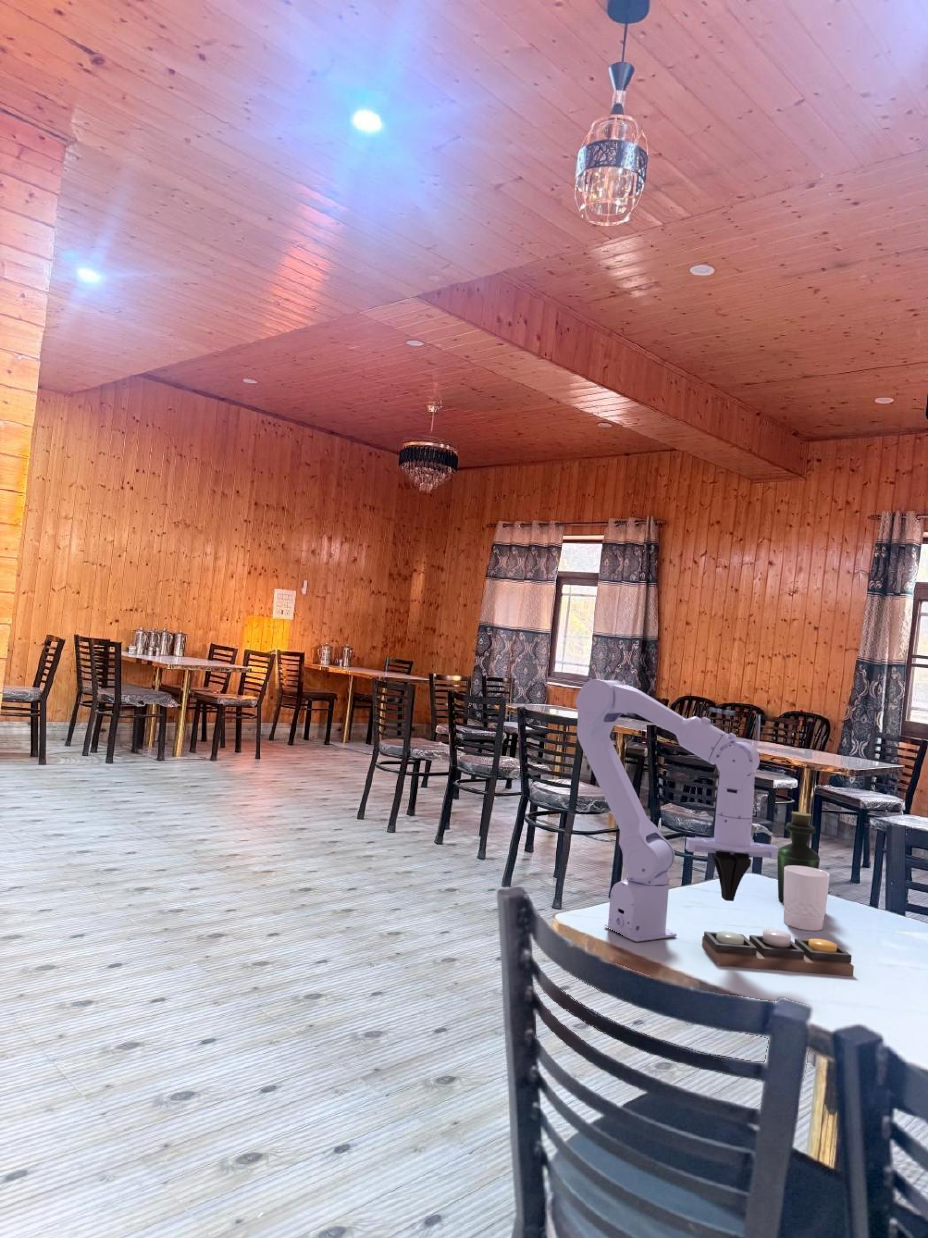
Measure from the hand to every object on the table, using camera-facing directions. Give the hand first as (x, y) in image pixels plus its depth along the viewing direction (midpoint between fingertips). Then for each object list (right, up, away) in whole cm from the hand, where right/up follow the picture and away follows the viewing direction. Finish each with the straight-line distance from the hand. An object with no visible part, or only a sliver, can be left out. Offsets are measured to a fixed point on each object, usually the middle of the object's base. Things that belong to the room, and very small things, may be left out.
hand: (727, 899), depth 140 cm
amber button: (+15, -8, -2) cm, 17 cm away
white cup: (+20, -11, +19) cm, 30 cm away
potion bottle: (+24, -12, +35) cm, 44 cm away
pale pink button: (+7, -6, -2) cm, 10 cm away
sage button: (0, -7, -2) cm, 7 cm away
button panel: (+7, -9, -2) cm, 12 cm away
